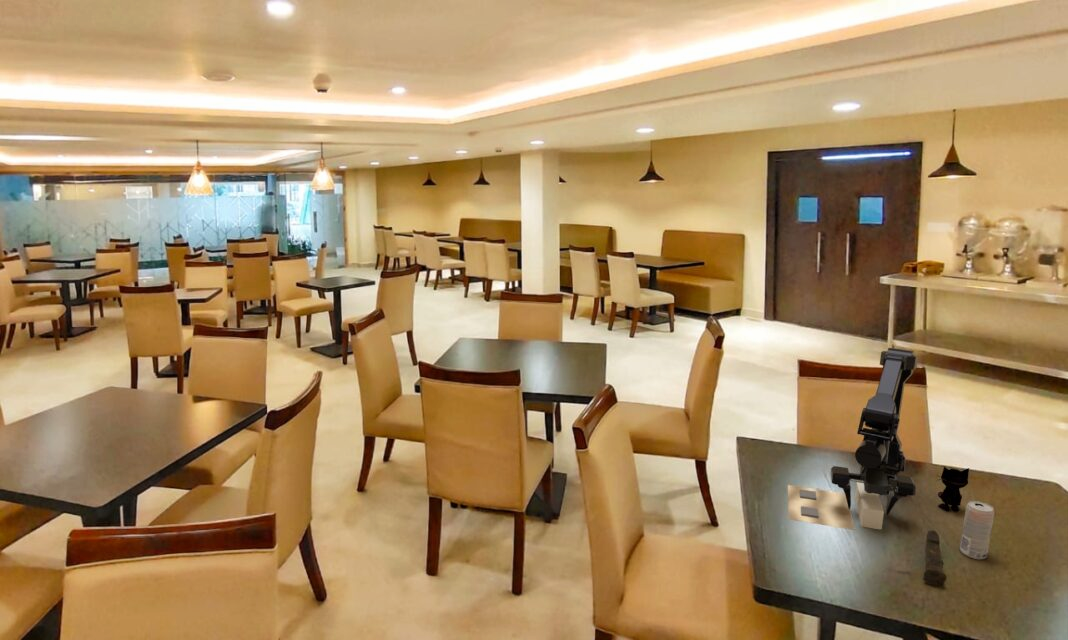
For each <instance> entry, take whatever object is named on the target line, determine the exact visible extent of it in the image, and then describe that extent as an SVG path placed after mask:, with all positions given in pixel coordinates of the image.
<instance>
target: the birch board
mask: <svg viewBox="0 0 1068 640" xmlns="http://www.w3.org/2000/svg"><path fill="white" fill-rule="evenodd" d="M800 489H801V490H808V491H815V492H816V500H811V499H804V498H800ZM787 503H788V509H787V510H788V520H792V521H797V522H803V523H809V524H816V525H821V526H828V527H834V528H838V529H847V530H852V531H855V527H854V521H853V517H852V516H853V515H852V511H851V508H850V509H849V508H848V504H847V500H846V496H845V493H844V492H839V491H830V490H825V489H818V488H812V487H811V488H810V487H804V486H798V485H792V484H791V485H790V484H787ZM801 506H803V507H810V508H816V509H818V516H819V517H818V518H814V517H807V516H801Z"/></svg>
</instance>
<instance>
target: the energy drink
mask: <svg viewBox="0 0 1068 640" xmlns="http://www.w3.org/2000/svg"><path fill="white" fill-rule="evenodd" d="M994 517H995V510H994V507H993V506H992V505H990V504H989V503H985V502H984V501H983V502H982V501H978V500H970V501H968V502H967V504H966V506H965V513H964V518H963V523H962V525H963V526H962V533H961V538H960V544H959V551H960V553H961V554H962V555H964V556H966V557H967V558H970V559H974V560H985V559H986V558H987V557H988V555H989V554H988V553H989V547H990V541H991V535H992V530H993V529H992V528H993V523H994Z"/></svg>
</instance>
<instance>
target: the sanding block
mask: <svg viewBox="0 0 1068 640" xmlns="http://www.w3.org/2000/svg"><path fill="white" fill-rule="evenodd" d="M854 502H855V505H856V510H857V515H858V519H859V523H860V526H861V527H863V528H869V529H874V530H875V529H876V530H882V529H883V522H884V515H885V510H884V507H883V505H882V501H881V498H880V494H875V493H867V492H865V490H864V483H863V482H856V485H855V494H854Z"/></svg>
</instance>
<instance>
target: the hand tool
mask: <svg viewBox="0 0 1068 640" xmlns="http://www.w3.org/2000/svg"><path fill="white" fill-rule="evenodd" d="M925 540H926V543H925V550H924V553H925V569H924V570H925V571H924V572H923V573H924V574H923V578H922V580H923V581H924V583H925V584H926V585H931V586H932V587H933V586H934V587H940V588H941V587H943V586H944V585H945V582H946V581H947V575H946V573H945V572H944V571H943V569H944V564H945V563H944V561H943V560H942V556H941V547H940V541H941V540H940V536H939V534H938V532H937V531H935V530H928V531H927V534H926V539H925Z"/></svg>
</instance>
